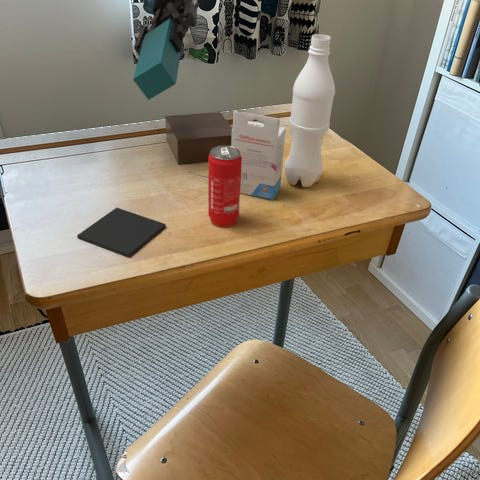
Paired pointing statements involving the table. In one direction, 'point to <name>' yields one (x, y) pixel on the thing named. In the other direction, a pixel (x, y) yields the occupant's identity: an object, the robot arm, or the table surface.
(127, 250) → the coaster
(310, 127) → the water bottle
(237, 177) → the beverage can
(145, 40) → the teal tall block
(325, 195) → the table surface
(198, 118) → the walnut stand
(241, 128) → the ink box
